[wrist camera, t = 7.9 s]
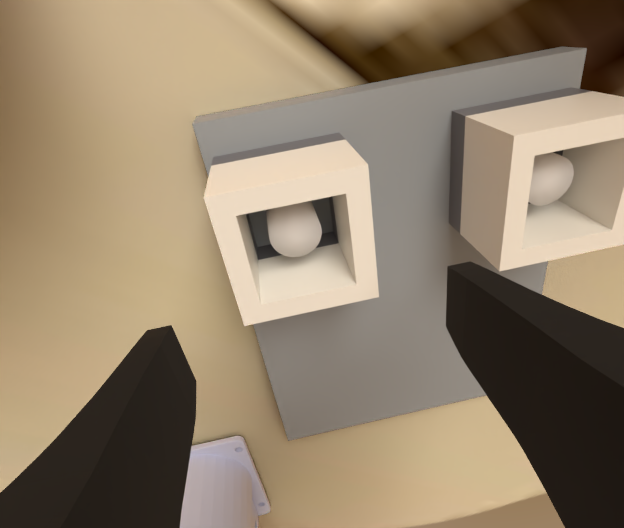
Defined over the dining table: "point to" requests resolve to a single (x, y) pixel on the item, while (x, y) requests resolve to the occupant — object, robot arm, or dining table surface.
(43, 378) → the dining table surface
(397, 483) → the dining table surface
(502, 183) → the seated sleeve
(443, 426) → the dining table surface
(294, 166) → the sleeve
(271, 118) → the pin board
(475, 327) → the robot arm
